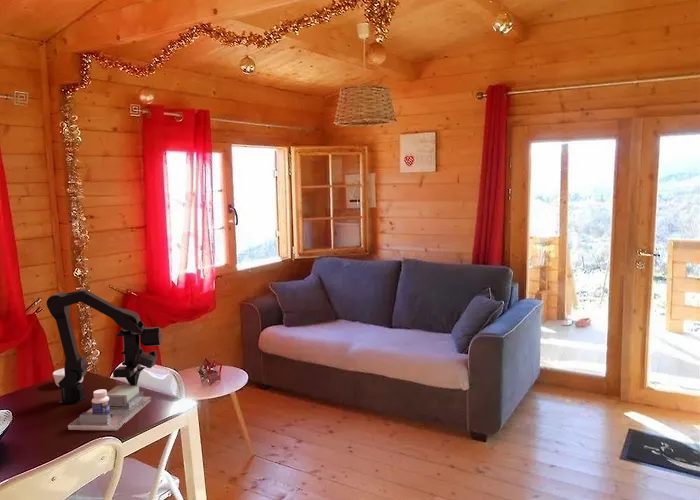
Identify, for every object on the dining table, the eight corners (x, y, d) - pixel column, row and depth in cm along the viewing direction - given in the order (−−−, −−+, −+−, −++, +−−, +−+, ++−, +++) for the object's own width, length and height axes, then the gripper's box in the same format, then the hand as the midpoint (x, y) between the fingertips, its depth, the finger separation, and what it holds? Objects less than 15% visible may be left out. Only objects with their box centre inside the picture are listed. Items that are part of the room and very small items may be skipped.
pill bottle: (105, 420, 181) (103, 394, 180) (89, 420, 181) (87, 394, 180) (113, 414, 186) (111, 388, 185) (98, 414, 187) (96, 388, 186)
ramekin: (51, 383, 223) (50, 370, 223) (81, 376, 230) (80, 364, 230) (56, 390, 215) (55, 377, 214) (88, 384, 221) (87, 371, 221)
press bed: (68, 429, 179) (67, 416, 178) (108, 400, 203) (107, 388, 203) (116, 430, 177) (115, 416, 177) (151, 400, 202) (150, 388, 202)
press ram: (104, 406, 193) (103, 395, 192) (118, 396, 202) (117, 385, 202) (126, 407, 192) (125, 395, 192) (139, 396, 202) (138, 385, 201)
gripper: (141, 354, 195) (144, 398, 197) (163, 340, 213) (166, 380, 215) (110, 354, 196) (113, 397, 198) (135, 340, 214) (137, 379, 216)
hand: (134, 388), depth 206 cm, fingers closed
